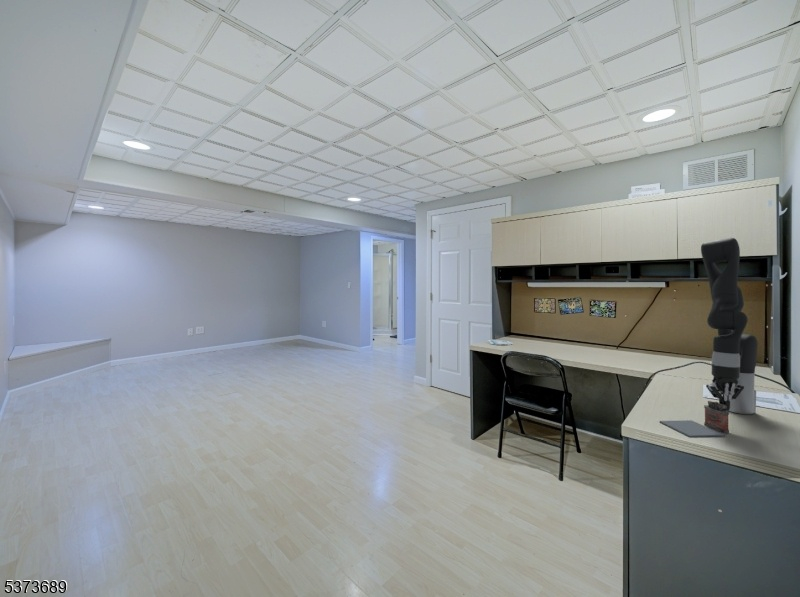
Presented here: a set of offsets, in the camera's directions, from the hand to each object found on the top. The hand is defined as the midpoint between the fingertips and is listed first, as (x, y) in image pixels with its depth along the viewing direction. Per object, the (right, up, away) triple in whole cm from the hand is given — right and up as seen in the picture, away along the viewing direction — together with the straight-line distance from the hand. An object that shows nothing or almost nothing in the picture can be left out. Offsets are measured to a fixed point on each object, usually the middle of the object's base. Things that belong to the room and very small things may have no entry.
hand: (724, 409), depth 124 cm
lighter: (-3, -7, 0) cm, 8 cm away
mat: (-13, -7, 0) cm, 15 cm away
